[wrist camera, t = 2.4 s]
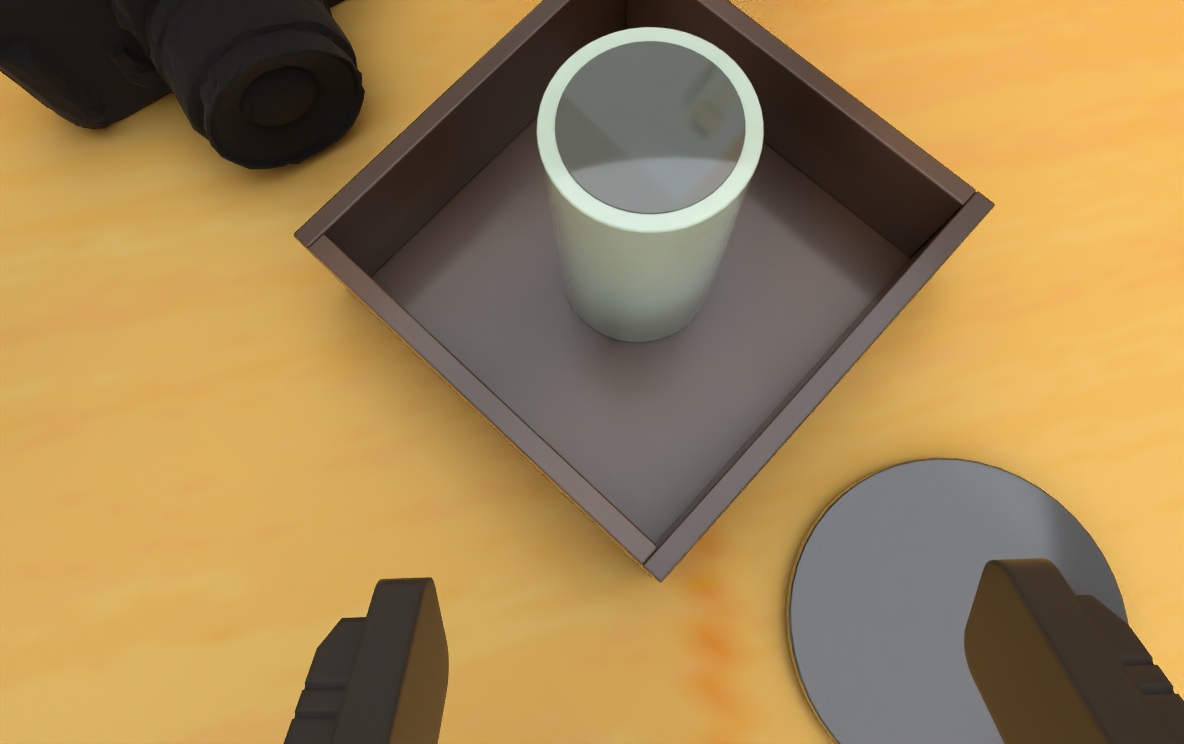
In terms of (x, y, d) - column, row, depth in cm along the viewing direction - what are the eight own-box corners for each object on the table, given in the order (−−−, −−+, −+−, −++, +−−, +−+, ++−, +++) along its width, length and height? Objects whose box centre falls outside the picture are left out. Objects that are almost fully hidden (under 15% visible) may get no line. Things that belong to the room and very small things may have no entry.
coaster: (717, 632, 27) (720, 634, 26) (921, 395, 28) (927, 392, 28) (984, 884, 25) (994, 892, 24) (1186, 615, 26) (1199, 617, 26)
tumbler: (530, 274, 29) (488, 131, 19) (632, 172, 30) (642, -16, 20) (642, 373, 28) (659, 277, 18) (744, 265, 29) (811, 117, 19)
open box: (345, 287, 30) (291, 234, 25) (623, 19, 32) (625, -79, 27) (651, 578, 27) (660, 583, 22) (931, 263, 29) (996, 204, 24)
